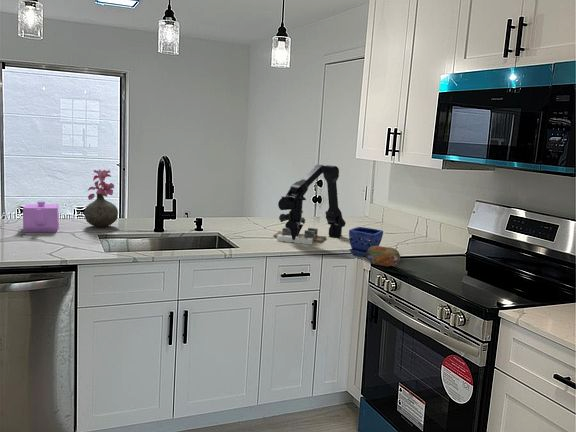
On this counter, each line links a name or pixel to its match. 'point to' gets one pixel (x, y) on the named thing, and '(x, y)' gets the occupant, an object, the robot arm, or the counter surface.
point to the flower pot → (364, 239)
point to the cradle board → (308, 234)
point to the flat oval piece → (383, 256)
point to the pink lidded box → (41, 217)
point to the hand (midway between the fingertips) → (294, 239)
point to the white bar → (297, 239)
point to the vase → (101, 203)
